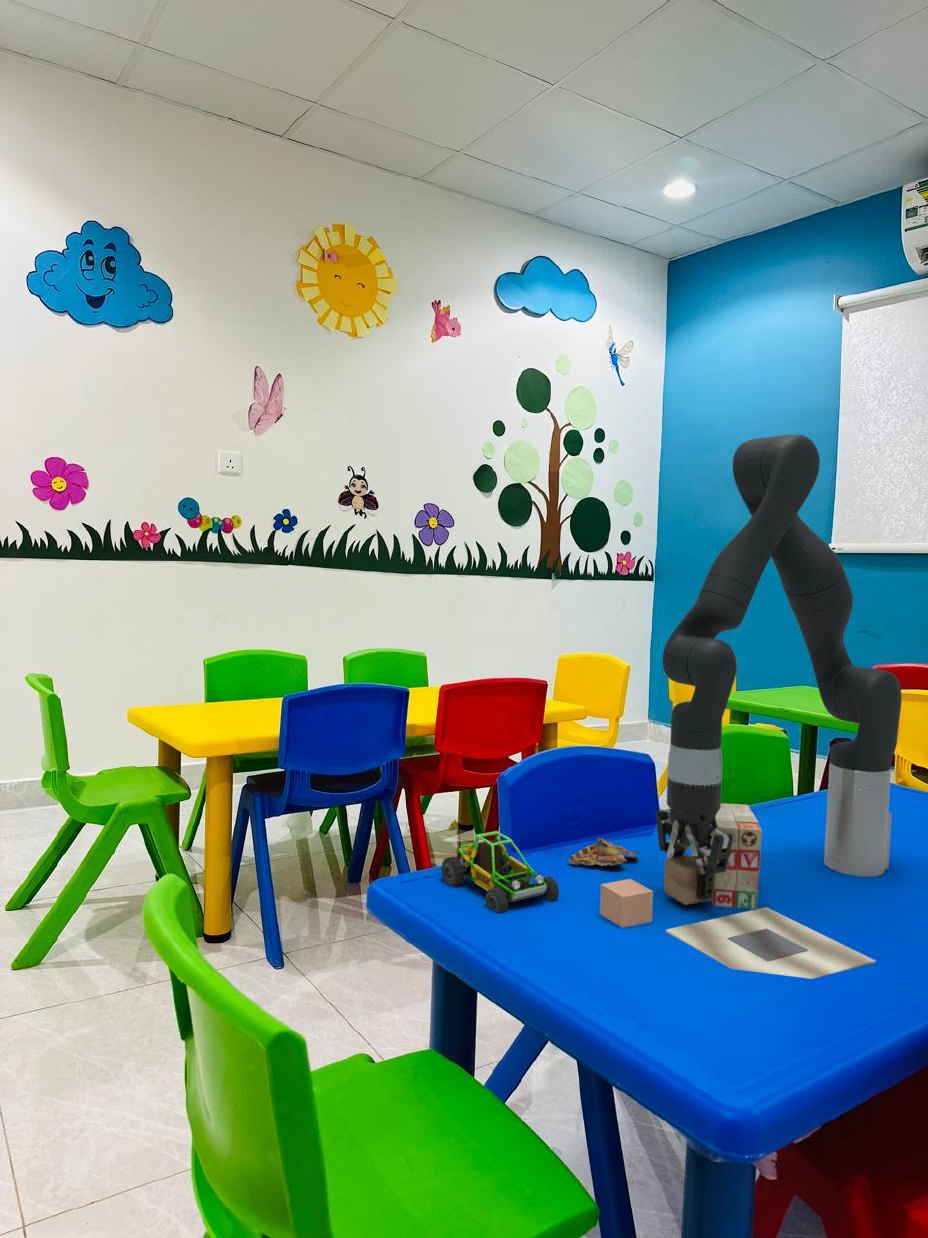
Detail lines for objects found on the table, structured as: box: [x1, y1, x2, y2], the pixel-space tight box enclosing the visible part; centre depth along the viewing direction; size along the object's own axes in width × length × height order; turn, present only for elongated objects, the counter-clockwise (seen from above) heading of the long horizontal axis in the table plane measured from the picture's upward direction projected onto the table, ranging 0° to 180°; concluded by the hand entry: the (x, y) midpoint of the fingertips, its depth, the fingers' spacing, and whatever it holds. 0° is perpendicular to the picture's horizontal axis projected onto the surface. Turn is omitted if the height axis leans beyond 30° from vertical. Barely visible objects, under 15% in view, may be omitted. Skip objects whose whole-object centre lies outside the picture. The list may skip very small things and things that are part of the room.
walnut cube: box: [663, 854, 715, 906], centre depth 129 cm, size 5×5×5 cm
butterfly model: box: [568, 837, 640, 867], centre depth 147 cm, size 9×12×3 cm
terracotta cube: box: [599, 878, 654, 928], centre depth 123 cm, size 5×5×5 cm
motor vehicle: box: [440, 819, 560, 914], centre depth 133 cm, size 11×18×10 cm, turn 33°
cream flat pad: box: [665, 906, 876, 980], centre depth 115 cm, size 18×18×1 cm
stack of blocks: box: [699, 802, 763, 910], centre depth 138 cm, size 21×6×12 cm, turn 171°
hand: (690, 890), depth 130 cm, fingers closed on walnut cube, 5 cm apart
